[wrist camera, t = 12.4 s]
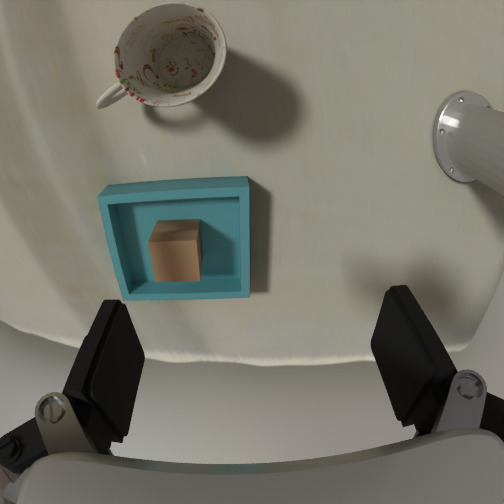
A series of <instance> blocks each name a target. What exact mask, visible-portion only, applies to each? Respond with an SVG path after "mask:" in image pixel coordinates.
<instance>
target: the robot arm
mask: <svg viewBox="0 0 504 504" xmlns="http://www.w3.org/2000/svg"><path fill="white" fill-rule="evenodd" d="M433 145H434V151H435V155H436V158H437V161H438V163H439V165H440V166H441V168H442V169H443V171H444V172H445V173H446V174H447V175H448V176H450V177H452V178H453V179H455V180H457V181H460V182H472V181H474V180H478V181H480V182H482V183H483V184H485V185H487V186H488V187H490V188H491V189H493V190H494V191H496V192H498V193H499V194H501V195H502V196H504V112H500V111H497V110H494V109H493V108H492V106H491V105H490V103H489V102H488V101H487V100H486V99H485V98H484V97H483V96H481V95H479V94H477V93H474V92H470V91H461V92H457V93H455V94H453V95H451V96H450V97H449V98H448V99H447V100H446V101H445V102H444V103H443V105H442V106H441V108H440V110H439V112H438V114H437V117H436V120H435V123H434V130H433ZM371 349H372V352H373V355H374V357H375V360H376V363H377V365H378V368H379V371H380V373H381V376H382V379H383V382H384V384H385V387H386V390H387V393H388V396H389V398H390V401H391V404H392V407H393V410H394V412H395V416H396V418H397V420H399V421H401V423H402V425H403V427H405V426H409V425H413V424H414V425H415V428H416V430H417V431H416V433H415V435H414V437H413V439H409V440H405V441H401V442H398V443H393V444H389V445H384V446H380V447H376V448H371V449H367V450H362V451H357V452H352V453H346V454H341V455H334V456H328V457H321V458H314V459H306V460H296V461H287V462H273V463H256V464H192V463H174V462H163V461H152V460H142V459H134V458H126V457H118V456H114V455H113V454H112V452H111V450H110V446H111V442H119V443H122V442H123V437H124V436H127V434H128V431H129V427H130V422H131V417H132V412H133V408H134V403H135V398H136V395H137V390H138V385H139V381H140V377H141V373H142V369H143V365H144V360H145V355H144V351H143V349H142V346H141V344H140V341H139V339H138V336H137V334H136V331H135V329H134V326H133V323H132V321H131V318H130V315H129V313H128V310H127V307H126V305H125V304H122V303H121V301H120V300H104V301H103V303H102V305H101V307H100V309H99V311H98V313H97V315H96V317H95V320H94V322H93V324H92V326H91V328H90V331H89V333H88V335H87V336H86V337H85V338H84V340H83V343H82V345H81V347H80V350H79V352H78V354H77V357H76V359H75V362H74V364H73V366H72V369H71V371H70V374H69V376H68V379H67V381H66V384H65V387H64V389H63V392H62V394H61V393H58V392H52V393H49V394H46V395H45V396H43V397H42V398H41V399H40V400H39V401H38V403H37V405H36V407H35V417H34V418H33V419H31V420H29V421H27V422H26V423H24V424H22V425H21V426H19V427H17V428H16V429H14V430H12V431H10V432H9V433H7V434H5V435H4V436H3V437H1V438H0V504H504V400H503V399H501V398H499V397H497V396H494V395H492V394H490V393H488V392H487V386H486V383H485V381H484V379H483V378H482V376H480V375H479V374H478V373H476V372H475V371H472V370H462V371H459V372H458V371H457V370H456V368H455V366H454V364H453V362H452V360H451V358H450V357H449V355H448V353H447V351H446V349H445V347H444V346H443V344H442V342H441V340H440V338H439V337H438V335H437V333H436V331H435V330H434V328H433V326H432V325H431V323H430V321H429V320H428V319H427V317H426V315H425V314H424V312H423V310H422V309H421V307H420V305H419V304H418V302H417V301H416V299H415V297H414V296H413V294H412V293H411V291H410V290H409V288H408V287H407V286H406V285H399V286H391V287H390V289H389V290H388V291H386V293H385V296H384V299H383V303H382V306H381V310H380V313H379V317H378V320H377V323H376V327H375V330H374V333H373V336H372V339H371Z"/></svg>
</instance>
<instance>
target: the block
mask: <svg viewBox="0 0 504 504" xmlns="http://www.w3.org/2000/svg"><path fill="white" fill-rule="evenodd" d="M148 246H149V251H150V257H151V262H152V267H153V272H154V277H155V282H187V281H201V270H202V261H203V251H202V239H201V226H200V219H180V220H158V221H157V222H156V224H155V227H154V229H153V231H152V234H151V236H150V238H149V241H148Z"/></svg>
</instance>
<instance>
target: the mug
mask: <svg viewBox="0 0 504 504" xmlns="http://www.w3.org/2000/svg"><path fill="white" fill-rule="evenodd" d="M226 56H227V43H226V38H225V35H224V32H223V30H222V28H221V26H220V24H219V23H218V22H217V20H216V19H215V18H214V17H213V16H212V15H211V14H209V13H208V12H207V11H205V10H204V9H202V8H200V7H197V6H195V5H191V4H187V3H180V2H172V3H164V4H160V5H156V6H153V7H151V8H149V9H147V10H145V11H143V12H142V13H140V14H139V15H137V16H136V17H135V18H134V19H132V20H131V21H130V22H129V24H128V25H127V26H126V27H125V28H124V30H123V31H122V33H121V35H120V37H119V39H118V41H117V44H116V47H115V52H114V68H115V72H116V76H117V78H118V80H119V81H118V82H117V83H116V84H114V85H113V86H112V87H110V88H109V89H108V90H107V91H106V92H104V93H103V94H102V95H101V97H100V98H99V99H98V101H97V103H96V107H97V108H98V109H102V108H105V107H107V106H109V105H111V104H113V103H115V102H116V101H118V100H119V99H121V98H122V97H124V96H126V95H127V94H129V95H131V96H132V97H133V98H135V99H136V100H138V101H140V102H142V103H144V104H147V105H151V106H156V107H173V106H179V105H183V104H185V103H188V102H190V101H193V100H195V99H196V98H198V97H200V96H201V95H203V94H204V93H205V92H206V91H208V90H209V89H210V88H211V87H212V86H213V84H214V83H215V82H216V81H217V79H218V78H219V76H220V74H221V72H222V70H223V68H224V65H225V61H226ZM120 90H121V91H120Z"/></svg>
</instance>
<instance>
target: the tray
mask: <svg viewBox="0 0 504 504" xmlns="http://www.w3.org/2000/svg"><path fill="white" fill-rule="evenodd" d="M97 197H98V202H99V207H100V212H101V216H102V221H103V226H104V230H105V234H106V239H107V243H108V247H109V251H110V255H111V259H112V262H113V266H114V270H115V273H116V277H117V280H118V284H119V287H120V291H121V294H122V297H123V301H139V300H195V299H225V298H249V297H250V230H249V183H248V178H247V176H238V177H212V178H192V179H176V180H161V181H148V182H137V183H126V184H116V185H108V186H107V187H106V188H105V189H104V190H103V191H102V192H101V193H100V194H99V195H98V196H97ZM180 219H200V226H201V239H202V251H203V261H202V270H201V281H187V282H155V277H154V272H153V267H152V262H151V257H150V251H149V246H148V241H149V238H150V236H151V234H152V231H153V229H154V227H155V224H156V222H157V221H158V220H180Z"/></svg>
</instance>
